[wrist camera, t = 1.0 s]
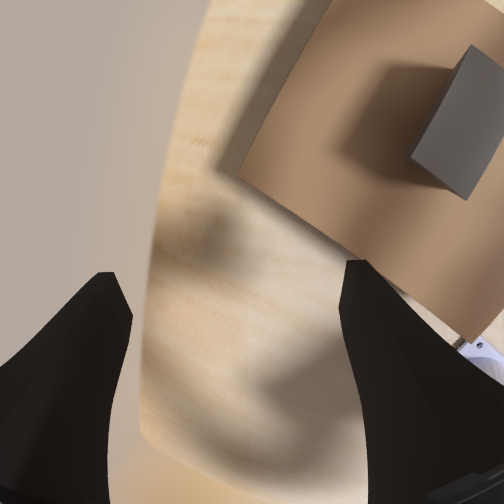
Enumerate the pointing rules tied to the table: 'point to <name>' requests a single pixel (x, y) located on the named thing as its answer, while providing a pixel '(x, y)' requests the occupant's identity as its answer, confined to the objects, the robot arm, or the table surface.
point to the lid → (399, 148)
